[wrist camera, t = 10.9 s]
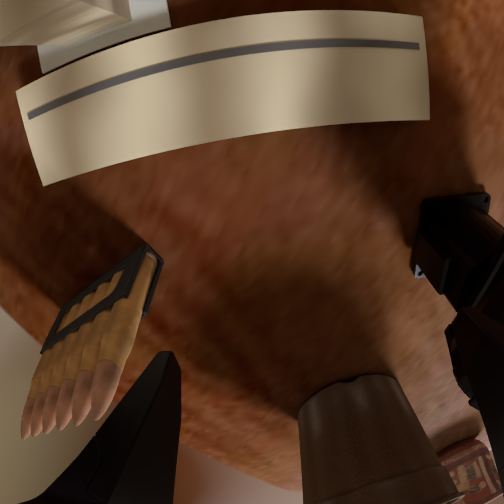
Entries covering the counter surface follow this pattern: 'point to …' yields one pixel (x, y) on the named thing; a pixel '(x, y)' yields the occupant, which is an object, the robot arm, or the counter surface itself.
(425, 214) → the robot arm
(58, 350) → the ammunition clip
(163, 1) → the grey end pad
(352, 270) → the counter surface
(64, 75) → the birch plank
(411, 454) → the plant pot
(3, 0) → the maple block
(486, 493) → the pottery
